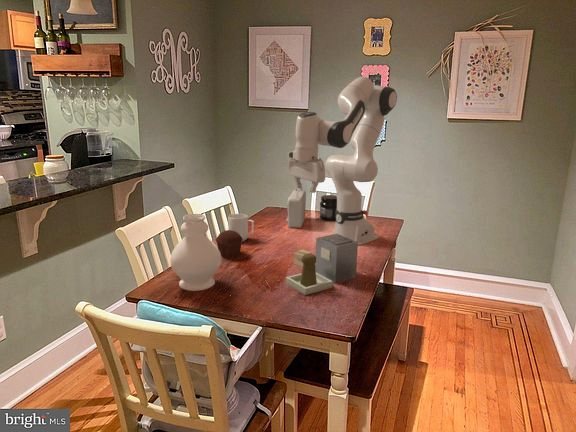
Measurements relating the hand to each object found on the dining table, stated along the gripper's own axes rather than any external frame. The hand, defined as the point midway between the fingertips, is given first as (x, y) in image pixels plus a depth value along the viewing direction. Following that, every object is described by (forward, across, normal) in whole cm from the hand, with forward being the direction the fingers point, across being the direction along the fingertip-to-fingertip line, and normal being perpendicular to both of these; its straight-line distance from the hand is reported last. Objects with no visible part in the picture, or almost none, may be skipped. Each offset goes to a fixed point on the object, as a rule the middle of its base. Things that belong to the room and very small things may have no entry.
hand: (305, 190), depth 189 cm
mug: (+29, +36, +10) cm, 47 cm away
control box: (+29, -20, 0) cm, 35 cm away
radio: (+29, +45, -27) cm, 60 cm away
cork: (+29, -22, +14) cm, 39 cm away
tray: (+29, -22, +14) cm, 39 cm away
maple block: (+29, -4, +4) cm, 30 cm away
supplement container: (+29, +42, -47) cm, 70 cm away
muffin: (+29, +22, +23) cm, 43 cm away
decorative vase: (+29, +1, +47) cm, 55 cm away
